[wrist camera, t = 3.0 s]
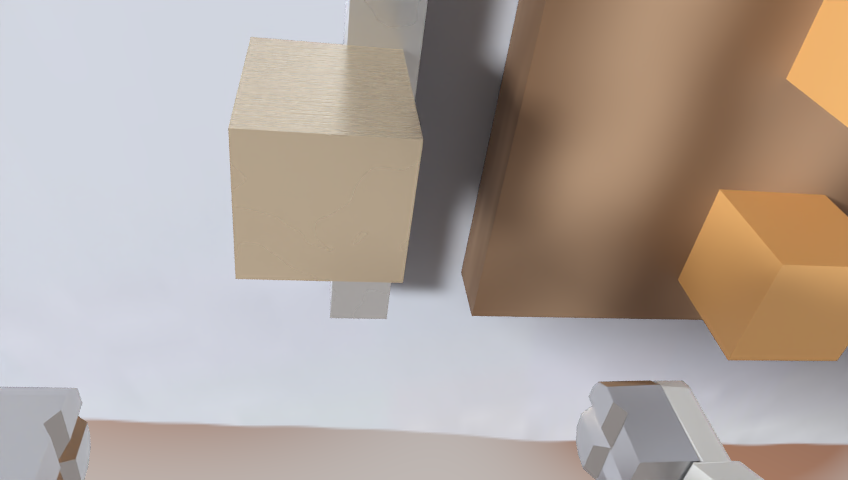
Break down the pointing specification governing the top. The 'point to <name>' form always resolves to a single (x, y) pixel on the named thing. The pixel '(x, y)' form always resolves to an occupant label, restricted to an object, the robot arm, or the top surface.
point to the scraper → (330, 156)
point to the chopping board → (637, 149)
